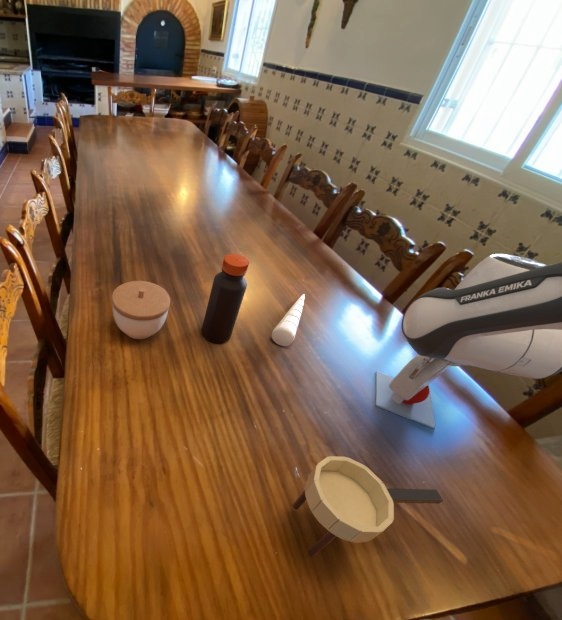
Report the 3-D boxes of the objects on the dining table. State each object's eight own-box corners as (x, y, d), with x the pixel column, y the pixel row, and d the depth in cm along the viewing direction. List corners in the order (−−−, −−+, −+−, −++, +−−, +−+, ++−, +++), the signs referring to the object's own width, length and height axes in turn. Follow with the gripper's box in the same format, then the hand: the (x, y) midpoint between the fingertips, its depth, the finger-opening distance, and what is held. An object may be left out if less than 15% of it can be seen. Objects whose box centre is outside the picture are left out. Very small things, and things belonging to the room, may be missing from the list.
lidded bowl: (105, 314, 85) (106, 276, 78) (155, 307, 89) (160, 270, 82) (118, 352, 76) (120, 312, 69) (173, 343, 79) (180, 304, 72)
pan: (294, 565, 48) (333, 531, 40) (274, 496, 55) (304, 455, 47) (409, 567, 49) (469, 533, 41) (374, 498, 56) (420, 458, 48)
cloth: (429, 391, 73) (430, 390, 73) (434, 429, 66) (435, 428, 66) (375, 372, 77) (376, 370, 76) (375, 406, 70) (376, 404, 69)
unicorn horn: (317, 301, 95) (324, 286, 92) (288, 351, 80) (295, 335, 77) (299, 294, 97) (306, 279, 94) (268, 341, 82) (274, 325, 79)
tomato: (424, 401, 71) (442, 383, 67) (410, 413, 68) (428, 394, 65) (397, 382, 74) (413, 364, 70) (383, 393, 72) (399, 374, 68)
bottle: (219, 321, 86) (240, 248, 74) (236, 339, 82) (261, 265, 69) (195, 327, 84) (212, 254, 71) (211, 347, 79) (232, 272, 66)
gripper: (445, 375, 54) (397, 425, 63) (498, 331, 63) (450, 381, 72) (404, 348, 58) (364, 399, 67) (460, 311, 67) (418, 360, 76)
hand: (409, 389), depth 70 cm, fingers open, 8 cm apart
